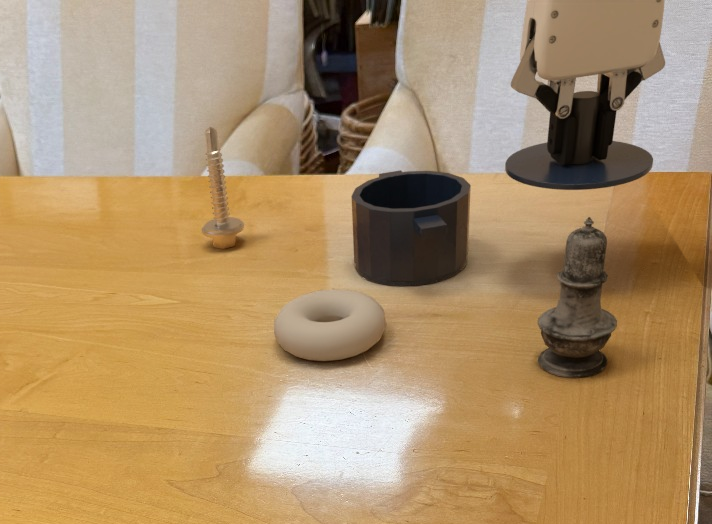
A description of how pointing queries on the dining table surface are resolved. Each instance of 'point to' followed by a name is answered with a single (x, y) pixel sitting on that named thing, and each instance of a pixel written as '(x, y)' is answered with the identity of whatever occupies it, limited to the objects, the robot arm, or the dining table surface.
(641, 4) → the robot arm
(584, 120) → the lid
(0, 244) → the dining table surface
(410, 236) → the pot
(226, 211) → the screw
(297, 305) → the donut
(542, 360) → the salt shaker
